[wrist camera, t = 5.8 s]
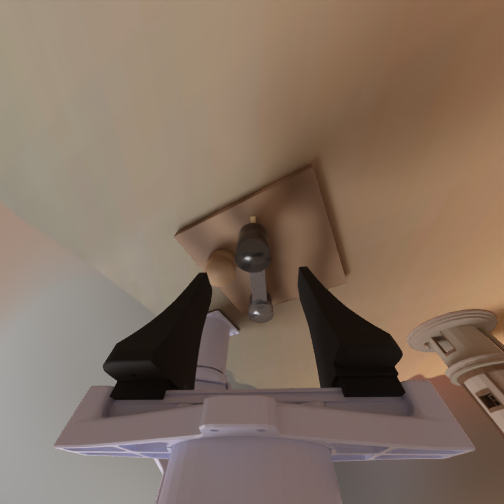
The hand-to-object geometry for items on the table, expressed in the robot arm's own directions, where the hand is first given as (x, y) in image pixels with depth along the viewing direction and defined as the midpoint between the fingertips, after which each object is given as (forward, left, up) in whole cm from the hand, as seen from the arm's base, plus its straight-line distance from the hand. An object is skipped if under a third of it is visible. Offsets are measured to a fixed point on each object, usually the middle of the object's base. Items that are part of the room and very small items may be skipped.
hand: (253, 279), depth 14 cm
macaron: (-6, -3, -9) cm, 12 cm away
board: (-1, -6, -10) cm, 12 cm away
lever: (-2, -6, -9) cm, 11 cm away
